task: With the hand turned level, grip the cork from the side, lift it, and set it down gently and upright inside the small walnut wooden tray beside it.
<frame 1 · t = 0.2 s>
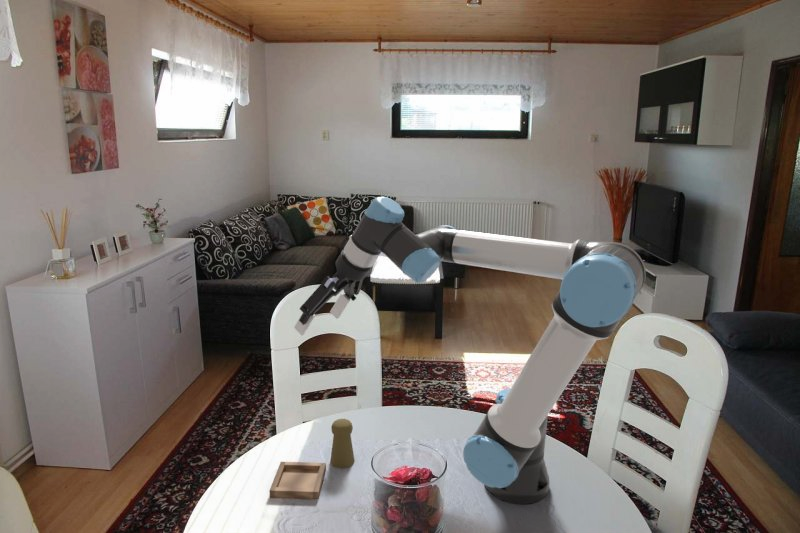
hand: (317, 322, 138), 35 cm above the table, tool tilted 35°, fingers open, 13 cm apart
cork: (342, 461, 142), on the table
tray: (299, 483, 133), on the table
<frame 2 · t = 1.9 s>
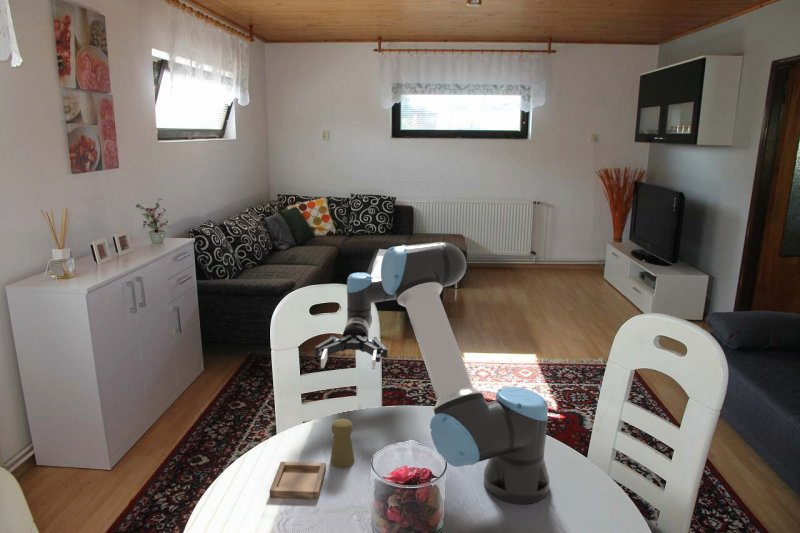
hand: (347, 364, 150), 20 cm above the table, tool horizontal, fingers open, 13 cm apart
nothing on the table moved.
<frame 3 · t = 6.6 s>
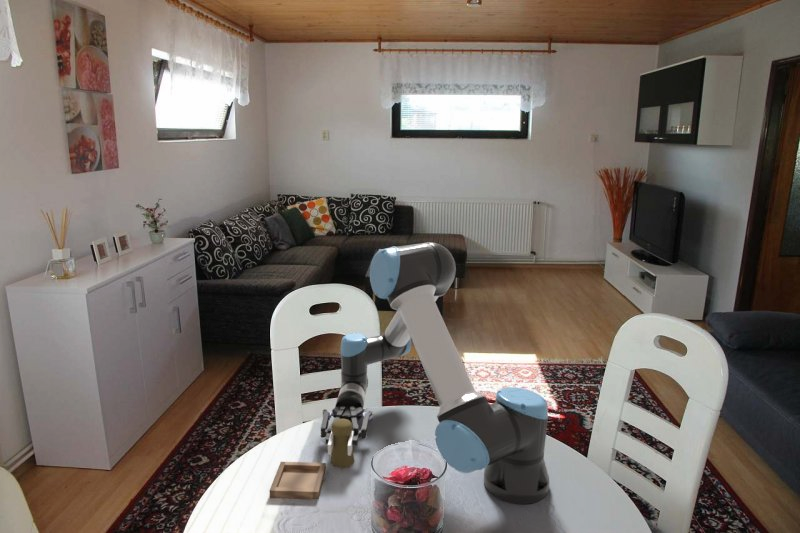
hand: (339, 450, 135), 7 cm above the table, tool horizontal, fingers closed on cork, 4 cm apart
cork: (342, 461, 142), on the table, touching gripper
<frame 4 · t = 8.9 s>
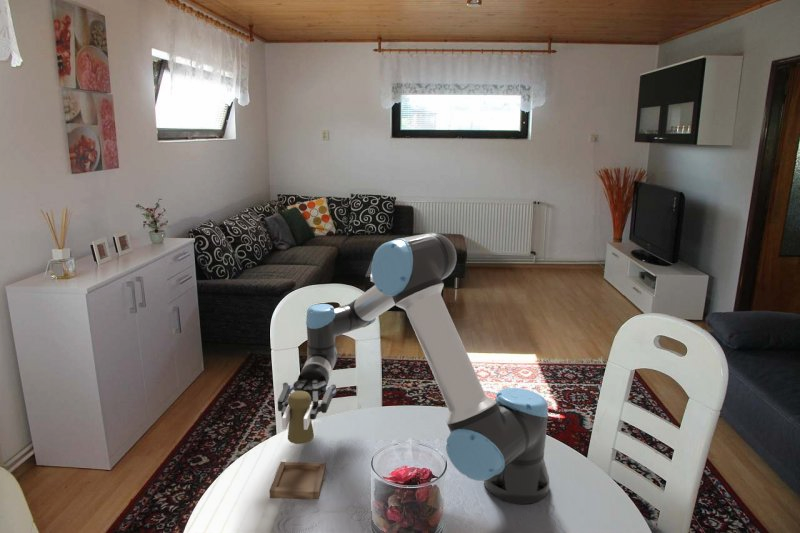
hand: (294, 423, 125), 18 cm above the table, tool horizontal, fingers closed on cork, 4 cm apart
cork: (300, 437, 132), point 11 cm above the table, touching gripper
when the fingers open (8 cm above the table, at t = 11.3 s): cork moves 1 cm, resting on tray.
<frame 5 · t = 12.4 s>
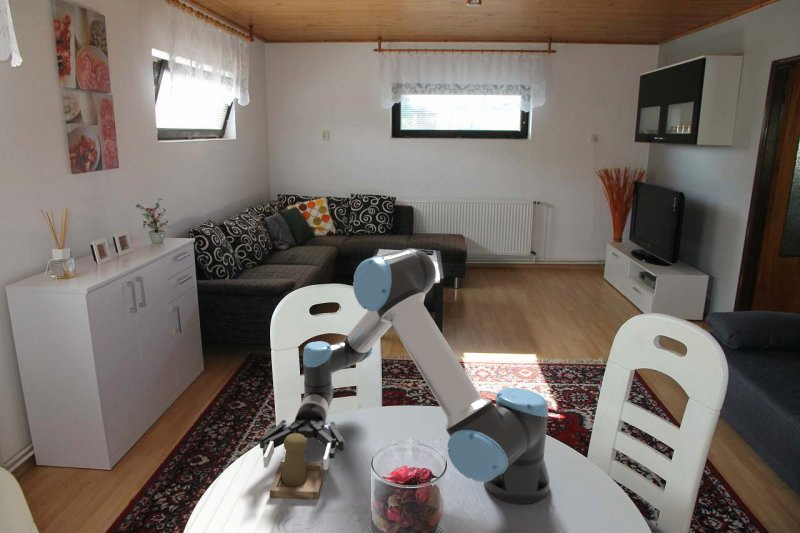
hand: (295, 463, 128), 8 cm above the table, tool horizontal, fingers open, 13 cm apart
cork: (294, 479, 134), point 1 cm above the table, touching tray
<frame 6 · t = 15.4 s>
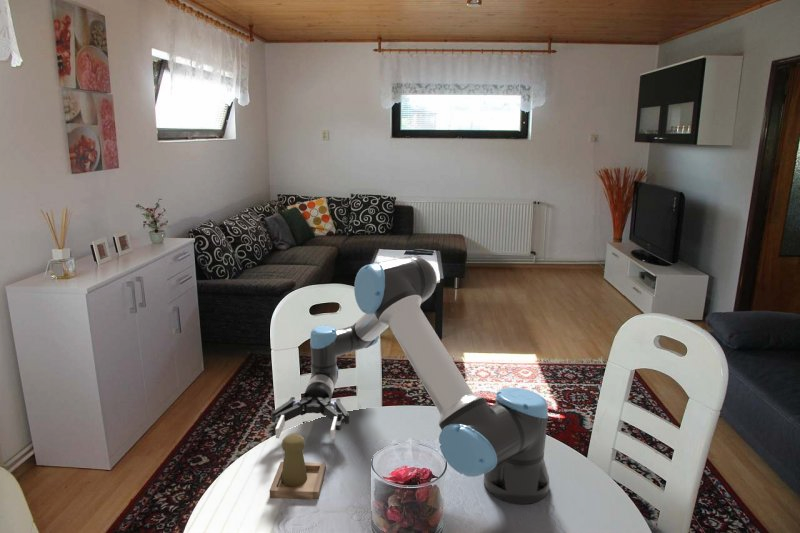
hand: (304, 434, 140), 8 cm above the table, tool horizontal, fingers open, 13 cm apart
nothing on the table moved.
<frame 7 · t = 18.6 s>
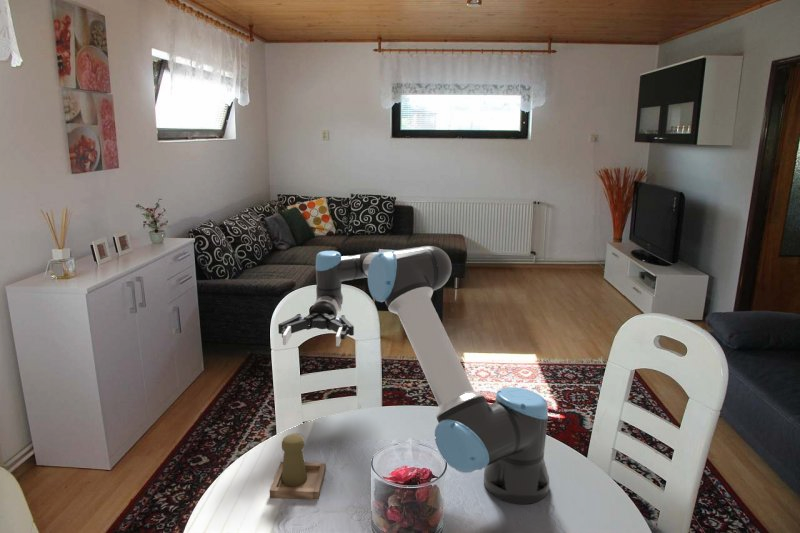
hand: (310, 340, 145), 28 cm above the table, tool horizontal, fingers open, 13 cm apart
nothing on the table moved.
at the end: cork 1.3 cm off-centre on the tray, point 0.6 cm above the tray's base; cork tilted 0°; the gripper is holding nothing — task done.
